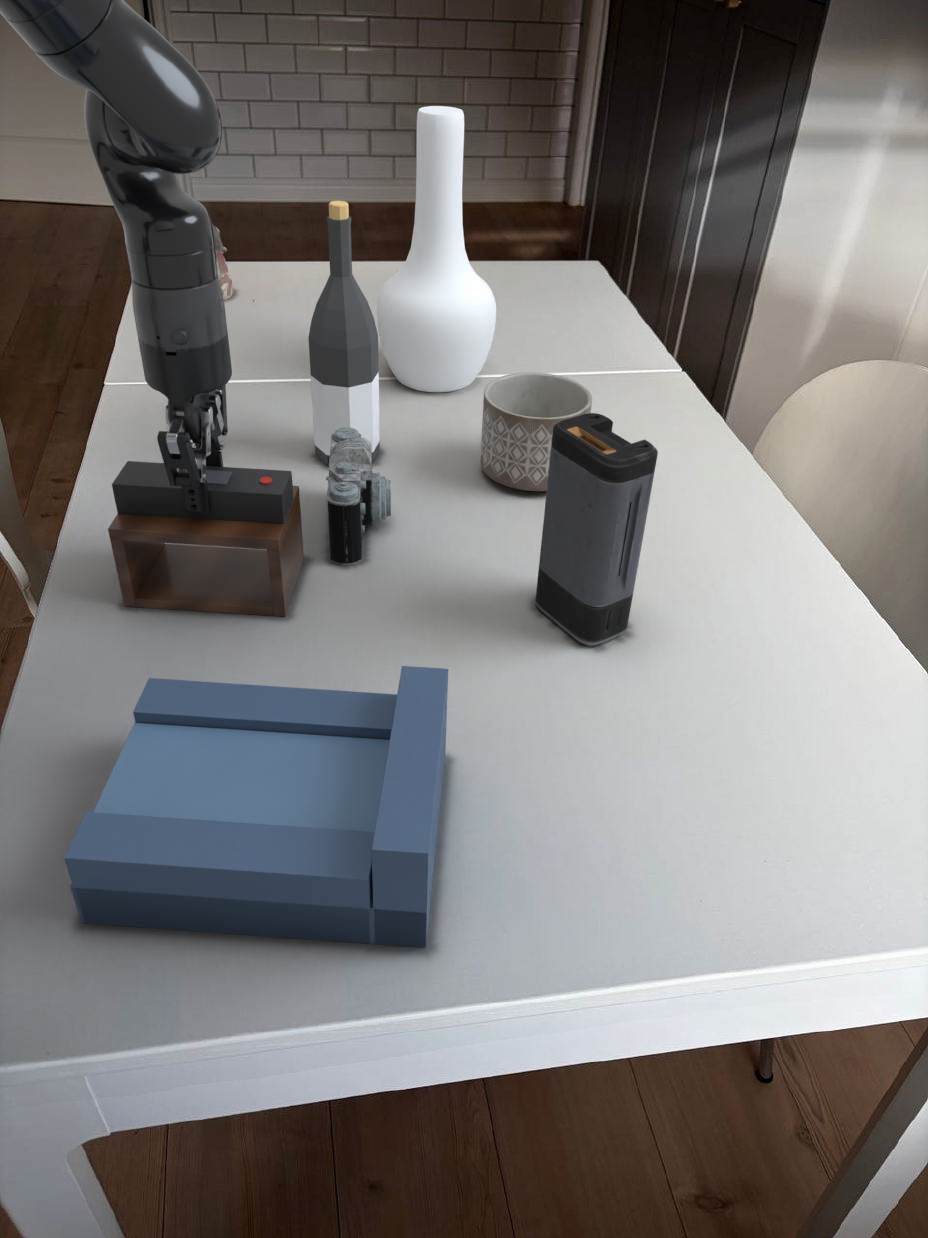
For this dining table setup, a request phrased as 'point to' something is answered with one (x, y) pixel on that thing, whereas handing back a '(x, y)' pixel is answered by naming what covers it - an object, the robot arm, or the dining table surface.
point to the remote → (228, 490)
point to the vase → (437, 274)
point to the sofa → (271, 813)
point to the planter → (526, 425)
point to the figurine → (222, 266)
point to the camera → (353, 495)
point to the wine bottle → (343, 348)
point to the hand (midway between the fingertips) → (206, 499)
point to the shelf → (208, 562)
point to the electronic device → (593, 527)
